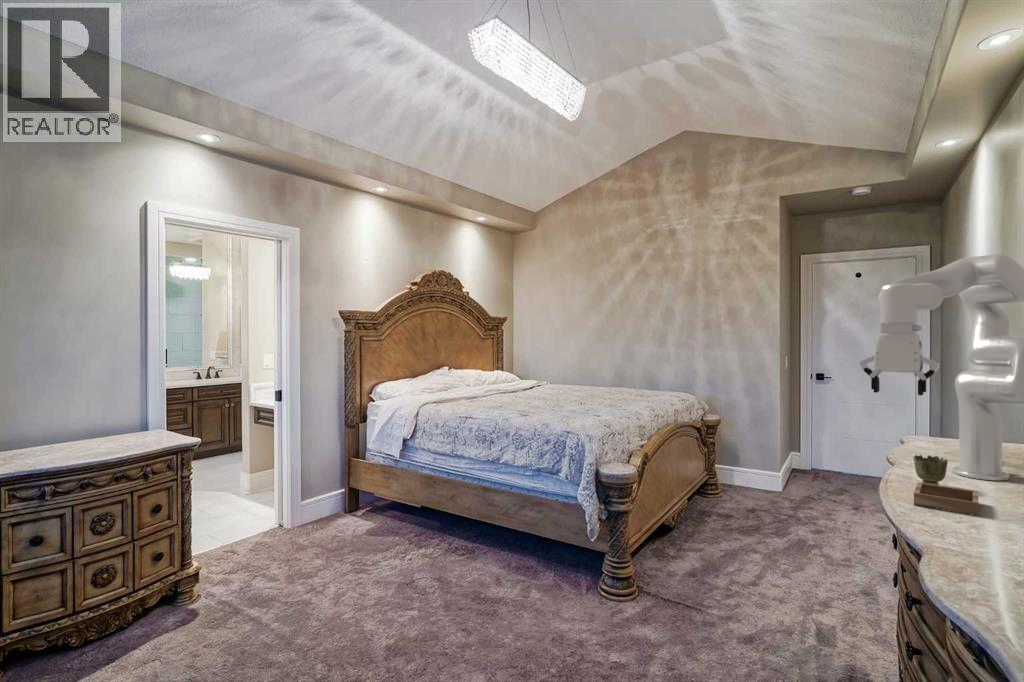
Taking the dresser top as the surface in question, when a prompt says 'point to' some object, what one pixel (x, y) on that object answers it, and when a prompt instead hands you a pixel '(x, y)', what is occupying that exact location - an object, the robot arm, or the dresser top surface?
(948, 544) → the dresser top surface
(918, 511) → the dresser top surface
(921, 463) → the olive round vessel
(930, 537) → the dresser top surface
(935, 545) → the dresser top surface
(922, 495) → the box
